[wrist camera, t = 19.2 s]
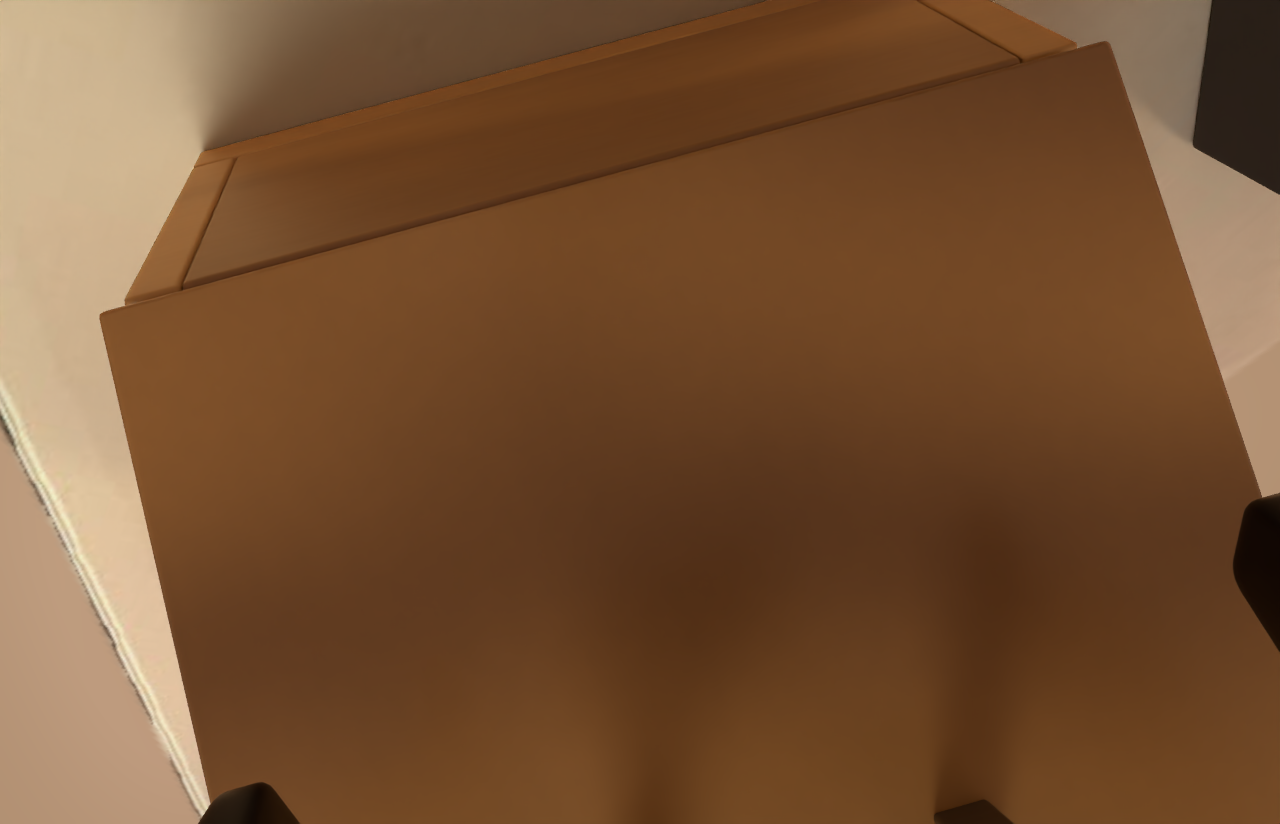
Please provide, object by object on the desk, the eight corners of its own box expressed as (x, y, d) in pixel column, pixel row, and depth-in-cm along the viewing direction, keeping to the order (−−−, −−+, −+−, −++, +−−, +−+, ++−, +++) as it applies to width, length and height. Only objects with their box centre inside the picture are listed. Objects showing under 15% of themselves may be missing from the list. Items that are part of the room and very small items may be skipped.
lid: (1344, 848, 13) (1770, 1058, 8) (319, 1148, 12) (114, 1556, 8) (1083, 63, 14) (1320, -174, 9) (127, 323, 13) (-160, 222, 9)
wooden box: (927, 392, 24) (1048, 551, 20) (392, 540, 24) (385, 738, 19) (912, -40, 18) (1079, 42, 14) (199, 151, 18) (120, 301, 13)
